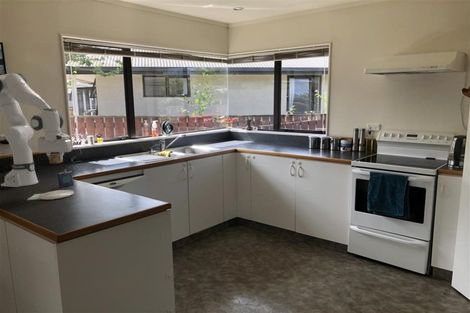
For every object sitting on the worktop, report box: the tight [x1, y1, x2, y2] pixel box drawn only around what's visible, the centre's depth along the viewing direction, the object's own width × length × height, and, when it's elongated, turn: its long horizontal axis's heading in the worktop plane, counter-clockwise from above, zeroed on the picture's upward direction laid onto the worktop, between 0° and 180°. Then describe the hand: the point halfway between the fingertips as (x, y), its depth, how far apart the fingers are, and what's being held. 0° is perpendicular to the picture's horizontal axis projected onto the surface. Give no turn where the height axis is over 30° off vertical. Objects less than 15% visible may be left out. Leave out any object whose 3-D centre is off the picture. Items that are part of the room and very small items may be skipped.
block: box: [48, 153, 64, 164], centre depth 213 cm, size 5×5×5 cm
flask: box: [57, 169, 74, 189], centre depth 228 cm, size 9×3×11 cm, turn 144°
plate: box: [39, 189, 75, 200], centre depth 205 cm, size 18×18×1 cm
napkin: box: [26, 193, 42, 201], centre depth 205 cm, size 8×12×1 cm, turn 10°
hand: (56, 159), depth 213 cm, fingers closed on block, 5 cm apart
